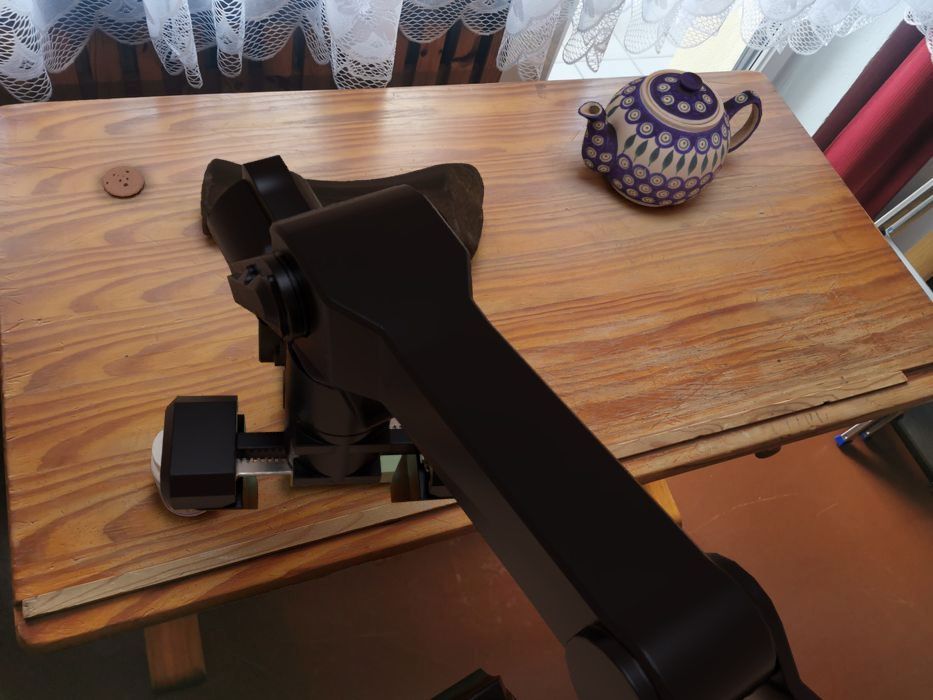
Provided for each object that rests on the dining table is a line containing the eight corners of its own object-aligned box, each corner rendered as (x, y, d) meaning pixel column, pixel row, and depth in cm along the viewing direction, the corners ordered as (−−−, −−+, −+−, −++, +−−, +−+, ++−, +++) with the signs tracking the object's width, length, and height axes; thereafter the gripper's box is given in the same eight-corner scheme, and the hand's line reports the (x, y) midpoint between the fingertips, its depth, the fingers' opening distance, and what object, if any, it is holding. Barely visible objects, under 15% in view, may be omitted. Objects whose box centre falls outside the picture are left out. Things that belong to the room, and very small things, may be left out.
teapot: (704, 130, 102) (762, 33, 90) (752, 216, 95) (823, 124, 83) (529, 135, 95) (567, 29, 82) (567, 229, 88) (615, 129, 75)
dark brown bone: (476, 240, 87) (217, 244, 83) (480, 146, 81) (204, 145, 78) (491, 280, 77) (200, 286, 74) (497, 177, 72) (183, 178, 69)
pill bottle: (192, 452, 65) (182, 405, 58) (234, 487, 64) (229, 443, 57) (147, 493, 62) (131, 449, 55) (190, 529, 61) (179, 489, 55)
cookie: (100, 197, 77) (99, 190, 76) (105, 167, 79) (103, 160, 78) (143, 199, 77) (141, 192, 77) (146, 170, 80) (145, 162, 79)
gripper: (494, 265, 46) (446, 392, 59) (159, 257, 42) (186, 396, 55) (525, 435, 40) (465, 535, 53) (142, 446, 36) (176, 552, 49)
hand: (325, 498), depth 53 cm, fingers open, 9 cm apart
